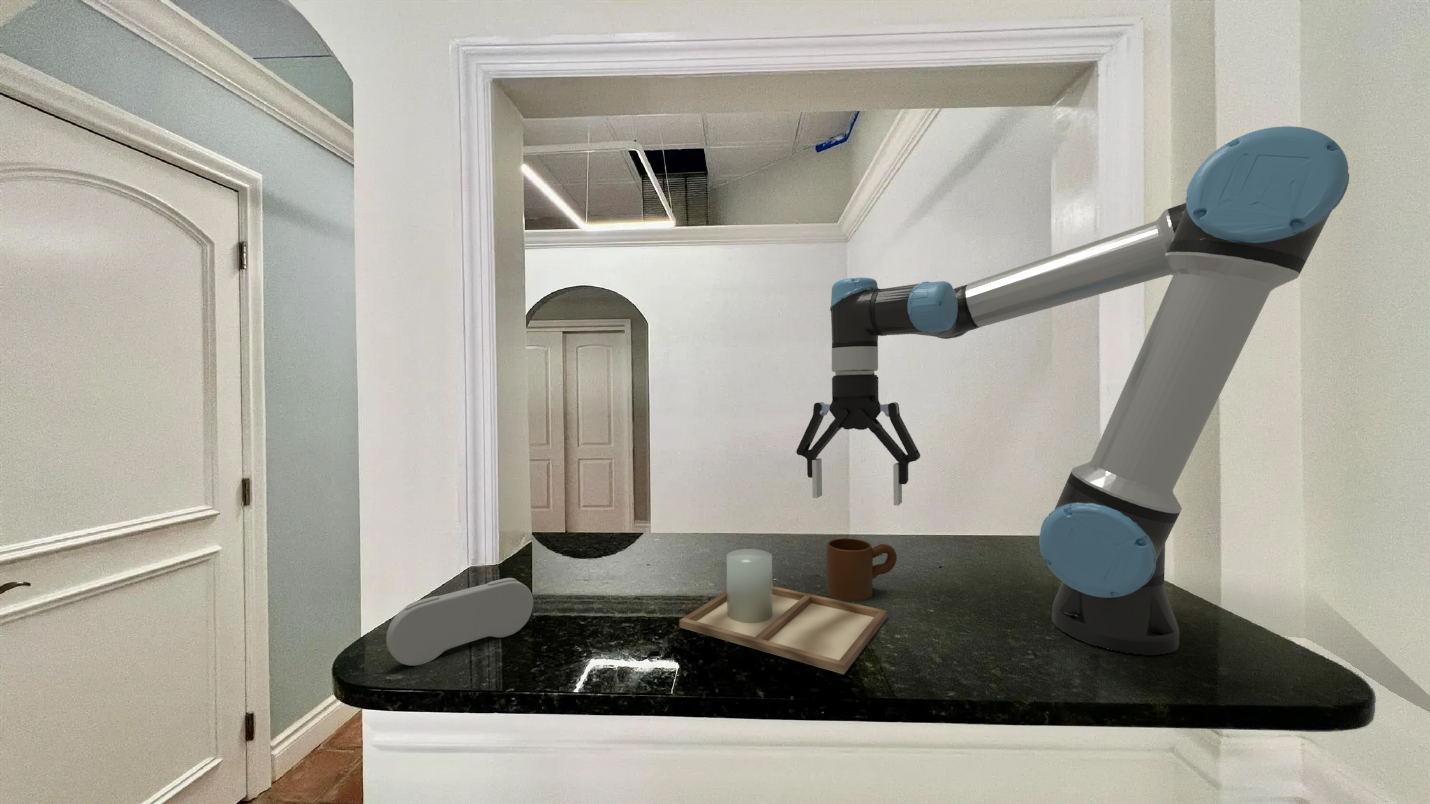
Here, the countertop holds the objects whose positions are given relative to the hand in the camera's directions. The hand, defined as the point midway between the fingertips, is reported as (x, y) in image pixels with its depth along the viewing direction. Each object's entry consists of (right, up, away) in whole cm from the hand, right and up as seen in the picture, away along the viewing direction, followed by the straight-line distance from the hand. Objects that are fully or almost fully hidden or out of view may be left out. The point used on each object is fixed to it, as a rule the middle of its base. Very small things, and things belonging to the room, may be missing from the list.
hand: (856, 500), depth 94 cm
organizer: (-13, -18, -11) cm, 24 cm away
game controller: (-59, -19, -15) cm, 64 cm away
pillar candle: (-18, -16, -7) cm, 26 cm away
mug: (+1, -17, +1) cm, 17 cm away
